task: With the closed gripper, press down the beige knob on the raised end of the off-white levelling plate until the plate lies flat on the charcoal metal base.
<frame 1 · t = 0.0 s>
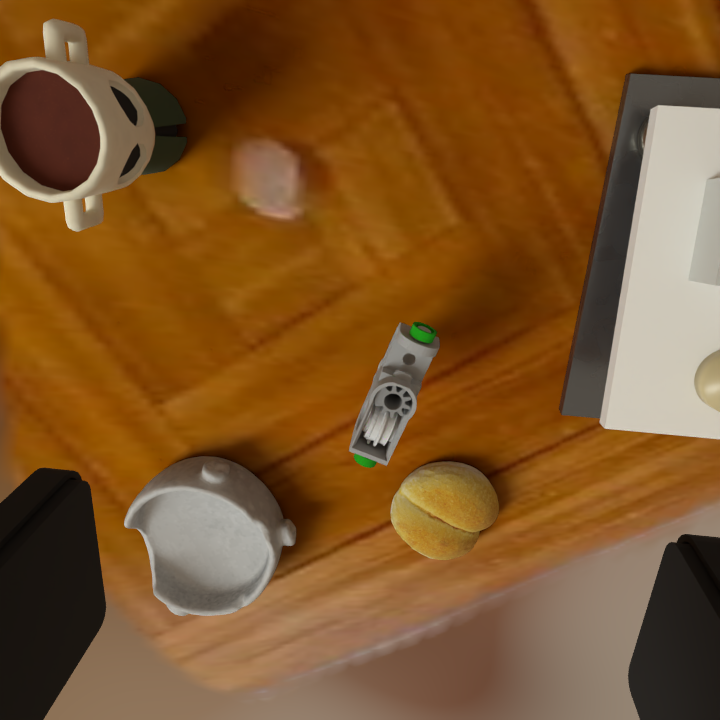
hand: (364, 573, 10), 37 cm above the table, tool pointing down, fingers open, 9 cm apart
mechanical component: (398, 346, 48), on the table
tribrach base: (704, 267, 43), on the table
character mug: (148, 126, 44), on the table
dish: (219, 515, 56), on the table
bread roll: (443, 501, 53), on the table
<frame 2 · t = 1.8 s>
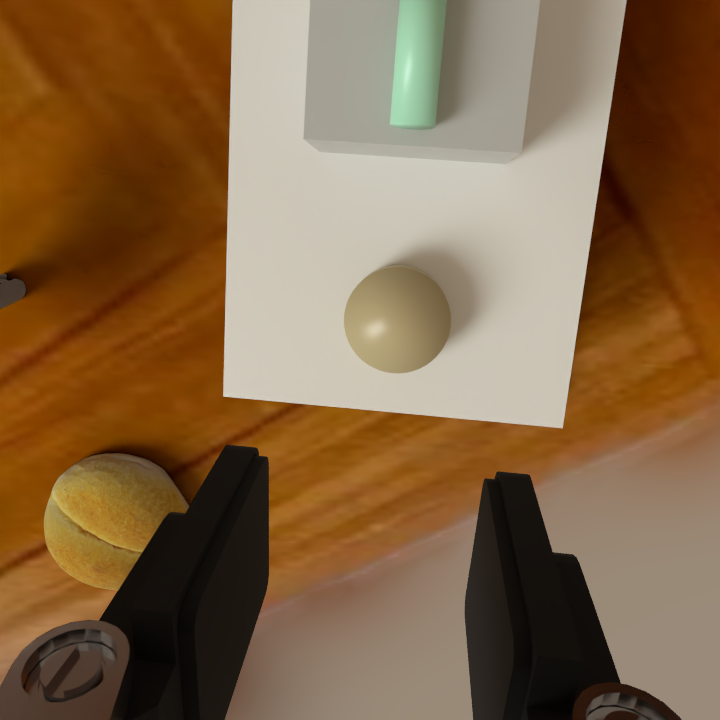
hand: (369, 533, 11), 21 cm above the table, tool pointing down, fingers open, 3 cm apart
levelling plate: (411, 152, 21), point 8 cm above the table, hinge at 10.0°
mechanical component: (13, 286, 33), on the table
bread roll: (128, 508, 39), on the table
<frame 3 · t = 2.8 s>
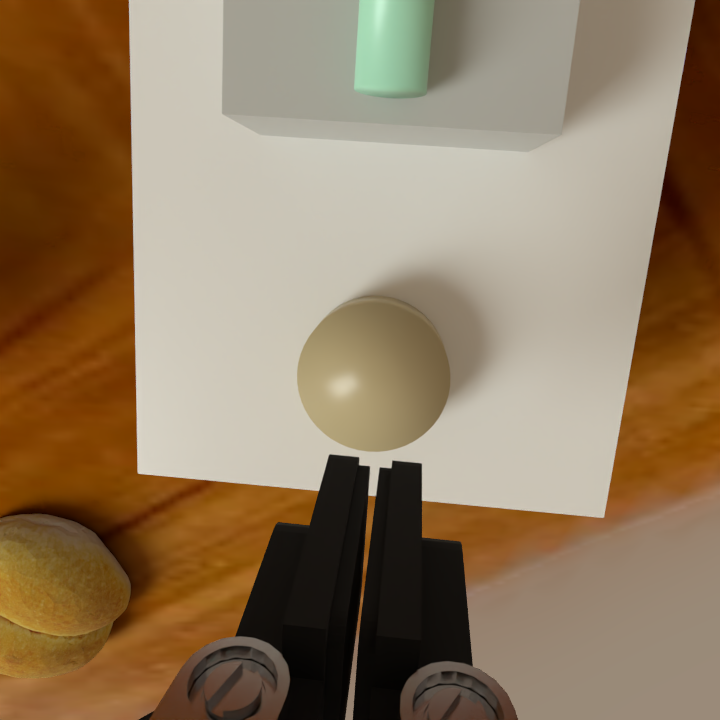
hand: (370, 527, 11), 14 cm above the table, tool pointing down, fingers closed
levelling plate: (391, 134, 14), point 8 cm above the table, hinge at 10.0°
bread roll: (55, 575, 32), on the table
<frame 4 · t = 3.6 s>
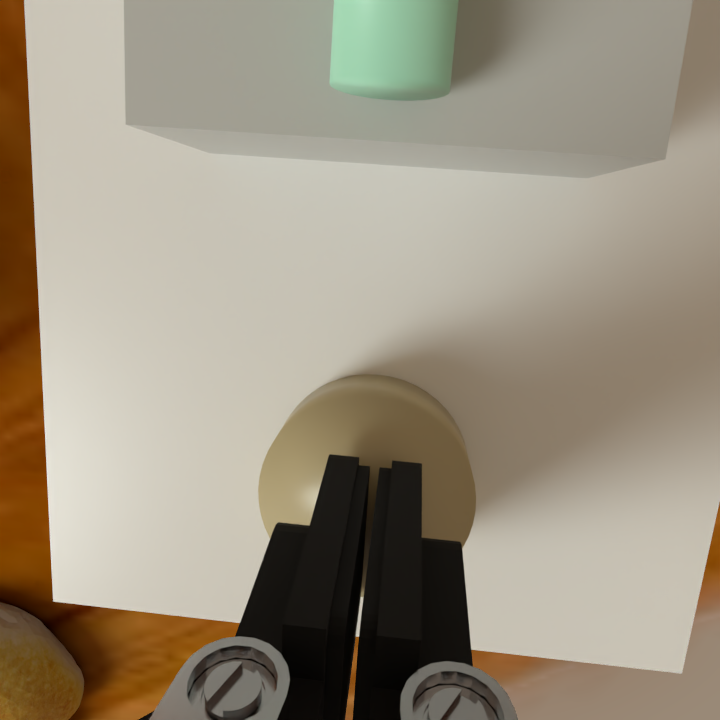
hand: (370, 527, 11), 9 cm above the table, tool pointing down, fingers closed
levelling plate: (391, 154, 10), point 8 cm above the table, hinge at 9.9°, touching gripper
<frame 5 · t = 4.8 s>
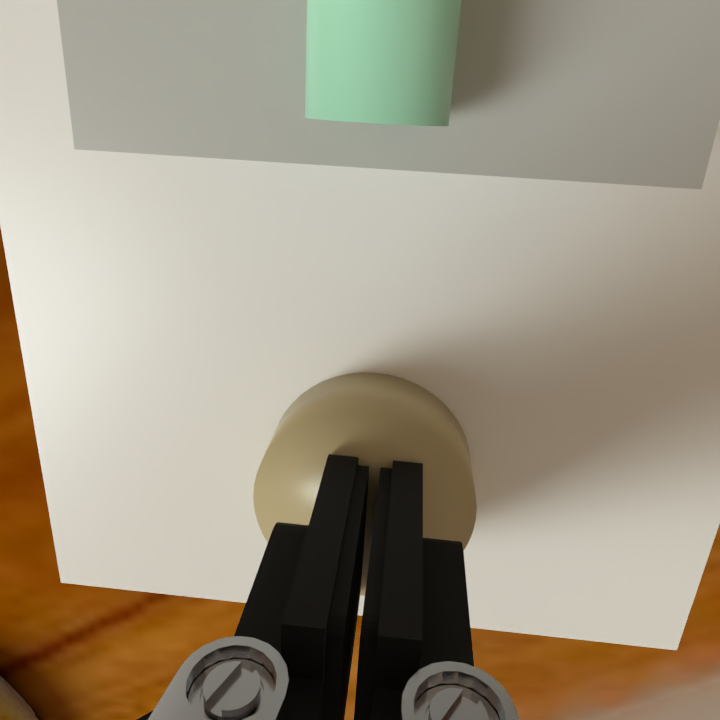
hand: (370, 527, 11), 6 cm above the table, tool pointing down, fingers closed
levelling plate: (385, 158, 8), point 6 cm above the table, hinge at 0.5°, touching gripper
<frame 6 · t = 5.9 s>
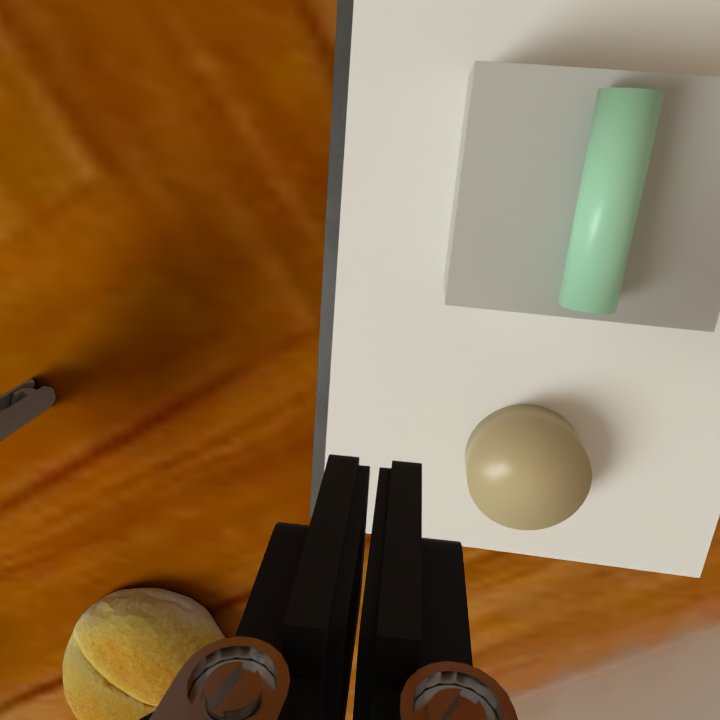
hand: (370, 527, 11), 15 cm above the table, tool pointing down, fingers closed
levelling plate: (564, 303, 18), point 6 cm above the table, hinge at 0.5°
mechanical component: (41, 392, 28), on the table
tribrach base: (533, 265, 24), on the table
bread roll: (160, 646, 33), on the table
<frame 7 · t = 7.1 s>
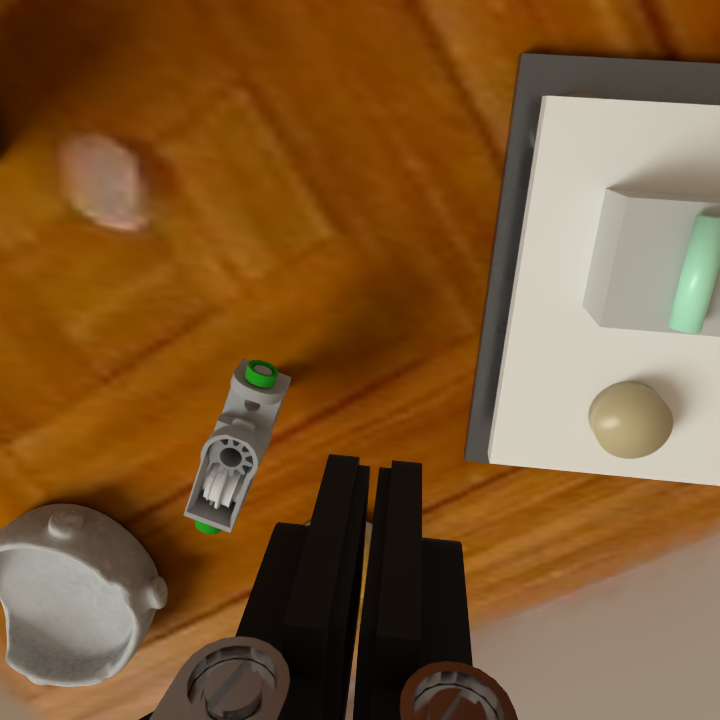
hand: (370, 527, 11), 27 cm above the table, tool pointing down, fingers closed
levelling plate: (663, 322, 30), point 6 cm above the table, hinge at 0.5°
mechanical component: (273, 380, 41), on the table
tribrach base: (625, 289, 36), on the table
dish: (88, 568, 49), on the table
bread roll: (340, 559, 46), on the table
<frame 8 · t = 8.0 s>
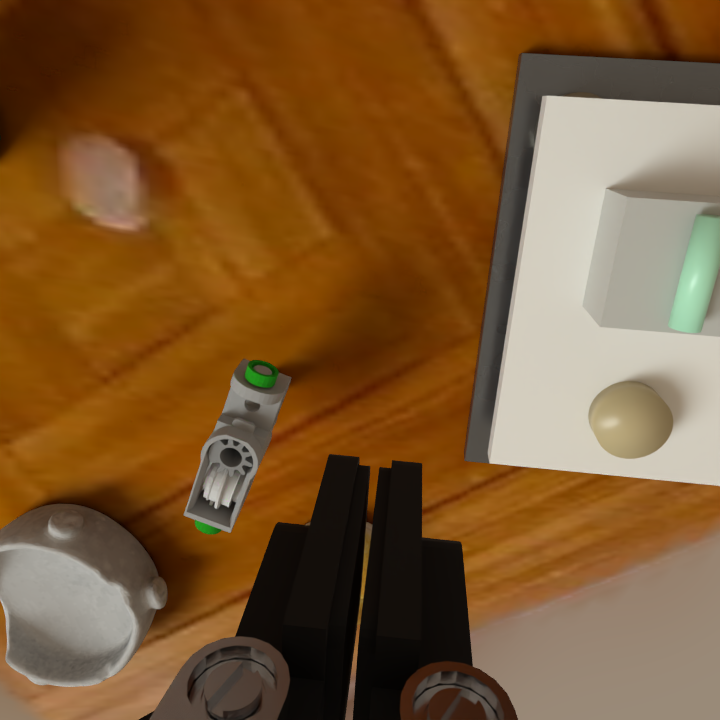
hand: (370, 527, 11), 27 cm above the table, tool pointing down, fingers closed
levelling plate: (663, 322, 30), point 6 cm above the table, hinge at 0.5°
mechanical component: (273, 380, 41), on the table
tribrach base: (625, 289, 36), on the table
dish: (88, 568, 49), on the table
bread roll: (340, 559, 46), on the table
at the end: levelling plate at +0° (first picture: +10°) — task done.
